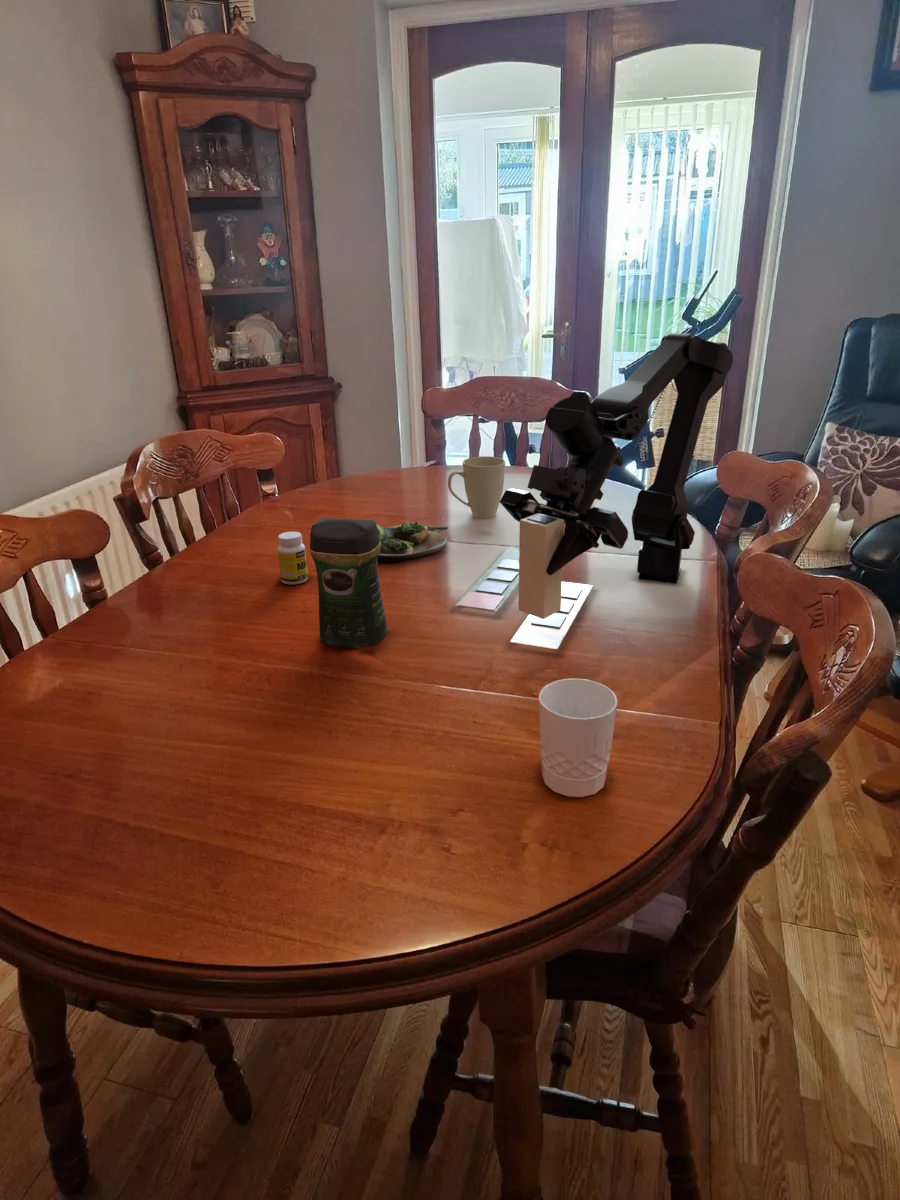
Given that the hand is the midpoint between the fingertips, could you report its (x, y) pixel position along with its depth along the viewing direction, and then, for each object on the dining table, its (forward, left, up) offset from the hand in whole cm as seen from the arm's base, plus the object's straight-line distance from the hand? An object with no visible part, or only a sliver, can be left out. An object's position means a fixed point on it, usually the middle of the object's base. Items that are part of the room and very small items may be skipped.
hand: (534, 569), depth 103 cm
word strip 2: (-1, -10, -12) cm, 16 cm away
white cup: (-13, +28, -12) cm, 33 cm away
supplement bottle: (+46, -10, -12) cm, 49 cm away
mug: (+27, -54, -12) cm, 62 cm away
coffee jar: (+25, +7, -12) cm, 29 cm away
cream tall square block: (-1, -1, -7) cm, 7 cm away
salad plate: (+36, -31, -12) cm, 50 cm away
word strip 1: (+11, -21, -12) cm, 27 cm away
